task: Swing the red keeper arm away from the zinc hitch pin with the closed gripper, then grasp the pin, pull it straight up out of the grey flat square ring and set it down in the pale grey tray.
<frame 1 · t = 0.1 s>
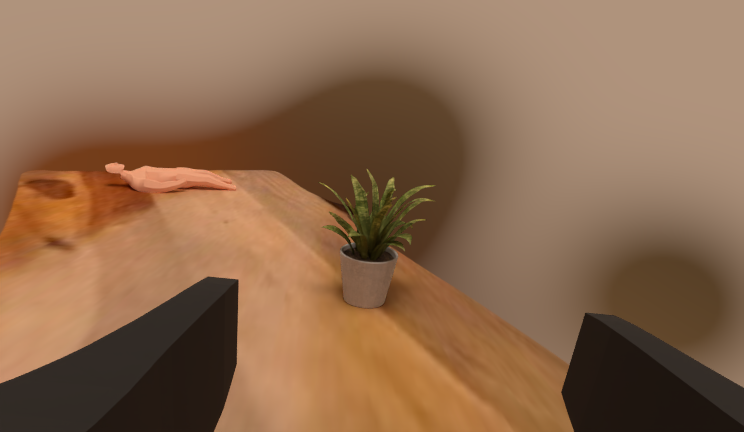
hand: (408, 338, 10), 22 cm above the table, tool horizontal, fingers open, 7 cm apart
house plant: (374, 302, 61), on the table
male figurine: (173, 189, 104), on the table
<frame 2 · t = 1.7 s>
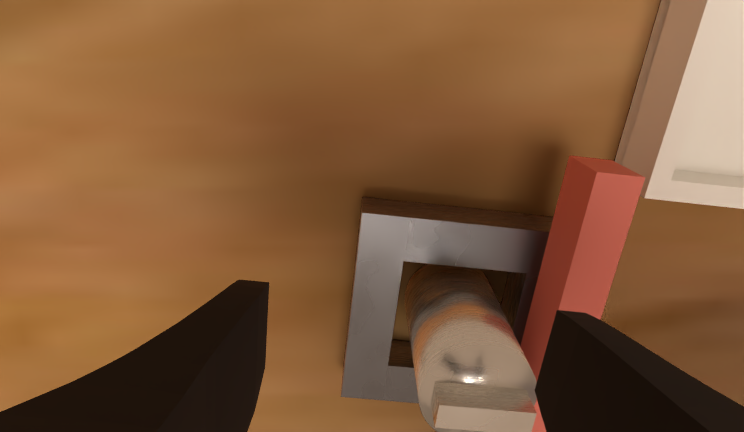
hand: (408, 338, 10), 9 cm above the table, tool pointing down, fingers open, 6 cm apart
keeper arm: (554, 343, 17), point 4 cm above the table, hinge at 0.0°
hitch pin: (447, 297, 21), resting in grey flat square ring
grey flat square ring: (447, 297, 21), on the table
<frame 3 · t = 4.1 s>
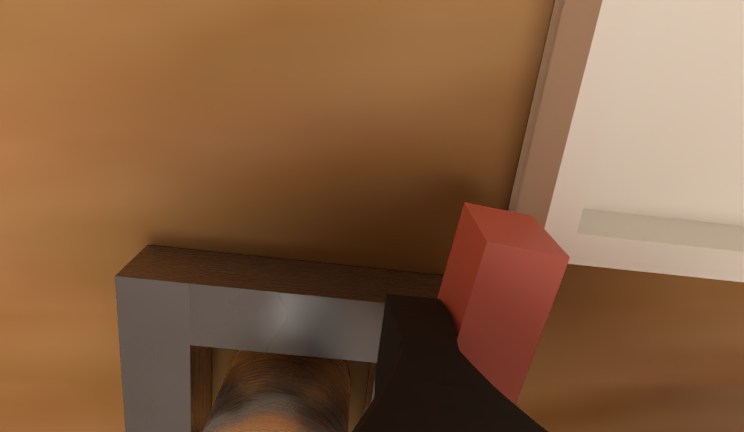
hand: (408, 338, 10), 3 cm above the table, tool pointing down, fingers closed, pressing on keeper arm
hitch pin: (289, 381, 15), resting in grey flat square ring
grey flat square ring: (289, 382, 15), on the table
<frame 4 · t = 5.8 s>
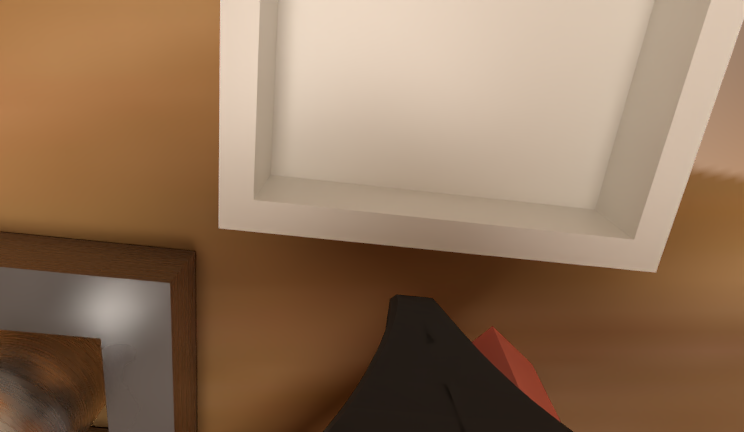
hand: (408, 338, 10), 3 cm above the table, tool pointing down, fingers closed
tray: (459, 17, 11), on the table
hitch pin: (57, 361, 14), resting in grey flat square ring
grey flat square ring: (57, 362, 14), on the table
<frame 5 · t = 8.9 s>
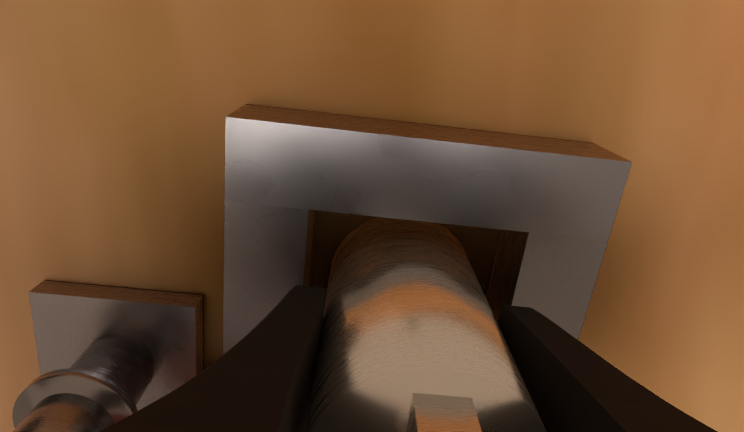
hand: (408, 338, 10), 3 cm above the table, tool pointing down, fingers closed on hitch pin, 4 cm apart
keeper post: (128, 353, 13), on the table
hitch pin: (399, 278, 13), resting in grey flat square ring, touching gripper
grey flat square ring: (399, 279, 13), on the table
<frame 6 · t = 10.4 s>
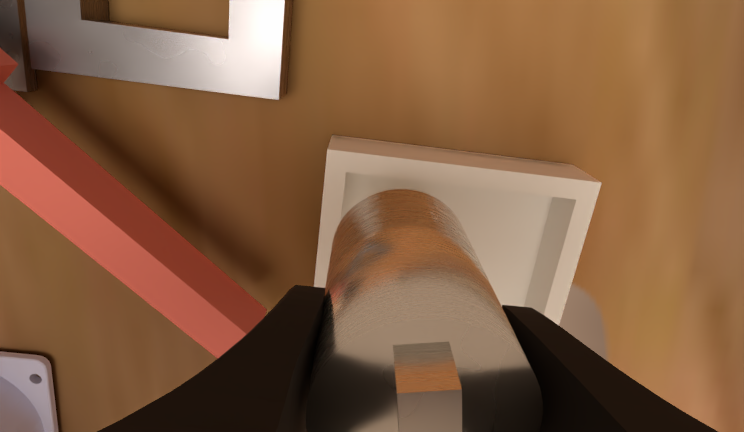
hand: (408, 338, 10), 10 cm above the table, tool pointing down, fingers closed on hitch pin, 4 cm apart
keeper arm: (99, 213, 16), point 4 cm above the table, hinge at 39.9°
tray: (433, 260, 21), on the table
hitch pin: (399, 253, 13), point 7 cm above the table, touching gripper
when the fingers open (4 cm above the table, at t = 12.0 s): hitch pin stays where it is, resting on tray.
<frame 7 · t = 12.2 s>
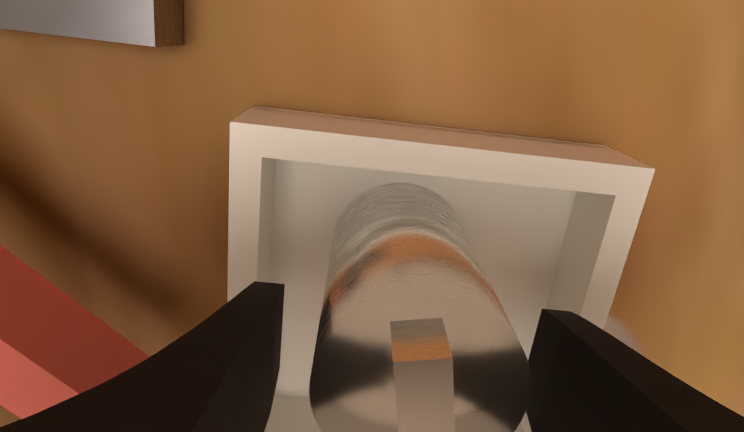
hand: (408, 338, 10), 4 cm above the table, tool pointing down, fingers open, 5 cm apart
tray: (408, 282, 15), on the table
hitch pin: (398, 245, 14), point 1 cm above the table, touching tray
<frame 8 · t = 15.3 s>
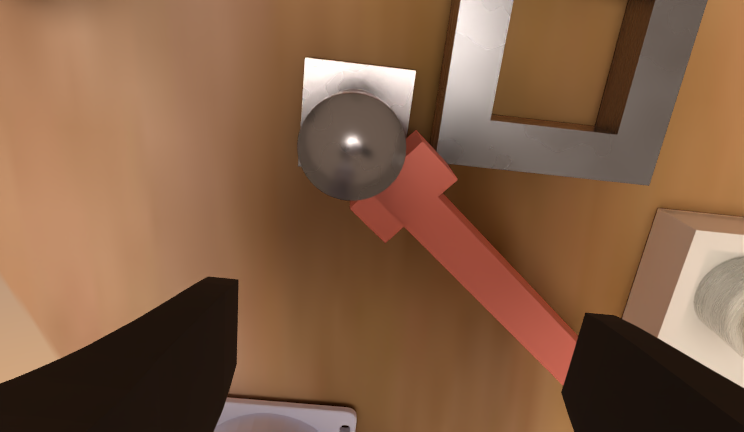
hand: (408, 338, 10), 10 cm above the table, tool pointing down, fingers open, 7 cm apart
keeper arm: (506, 293, 17), point 4 cm above the table, hinge at 39.9°
keeper post: (355, 117, 19), on the table
tray: (726, 316, 22), on the table
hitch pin: (736, 294, 21), point 1 cm above the table, touching tray
grey flat square ring: (551, 57, 18), on the table
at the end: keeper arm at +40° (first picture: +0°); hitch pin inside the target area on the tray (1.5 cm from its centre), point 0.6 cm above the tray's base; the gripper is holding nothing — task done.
